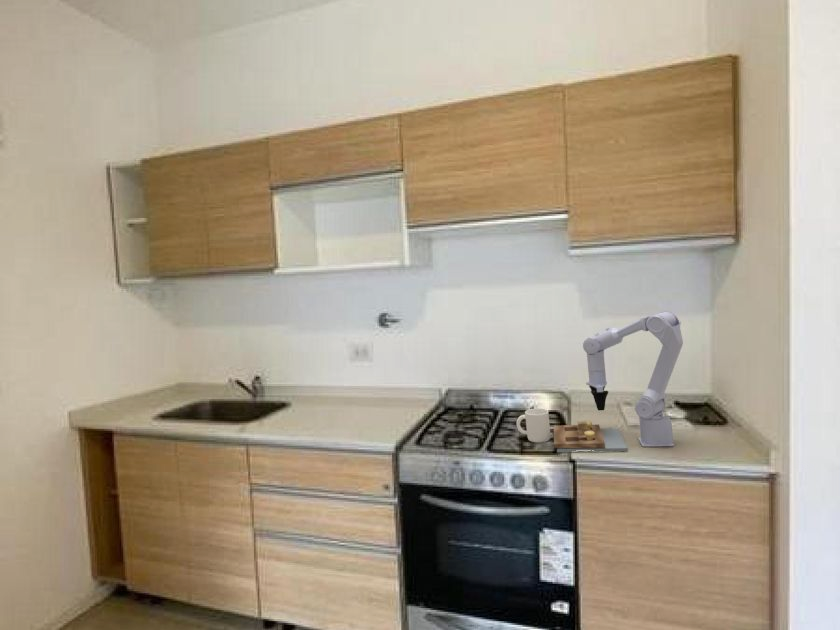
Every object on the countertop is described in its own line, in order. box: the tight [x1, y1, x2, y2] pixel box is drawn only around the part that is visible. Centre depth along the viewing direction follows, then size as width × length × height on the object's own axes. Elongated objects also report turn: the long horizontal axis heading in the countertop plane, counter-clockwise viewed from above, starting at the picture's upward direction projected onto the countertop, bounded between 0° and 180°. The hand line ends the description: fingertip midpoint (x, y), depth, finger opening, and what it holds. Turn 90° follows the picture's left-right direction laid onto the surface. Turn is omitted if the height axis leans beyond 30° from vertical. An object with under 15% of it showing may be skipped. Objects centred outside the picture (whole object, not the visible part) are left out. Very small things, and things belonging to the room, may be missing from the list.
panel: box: [553, 420, 605, 449], centre depth 167 cm, size 16×20×5 cm
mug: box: [516, 408, 551, 444], centre depth 175 cm, size 12×8×10 cm
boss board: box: [556, 420, 629, 453], centre depth 166 cm, size 22×20×5 cm
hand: (599, 407), depth 172 cm, fingers open, 7 cm apart
